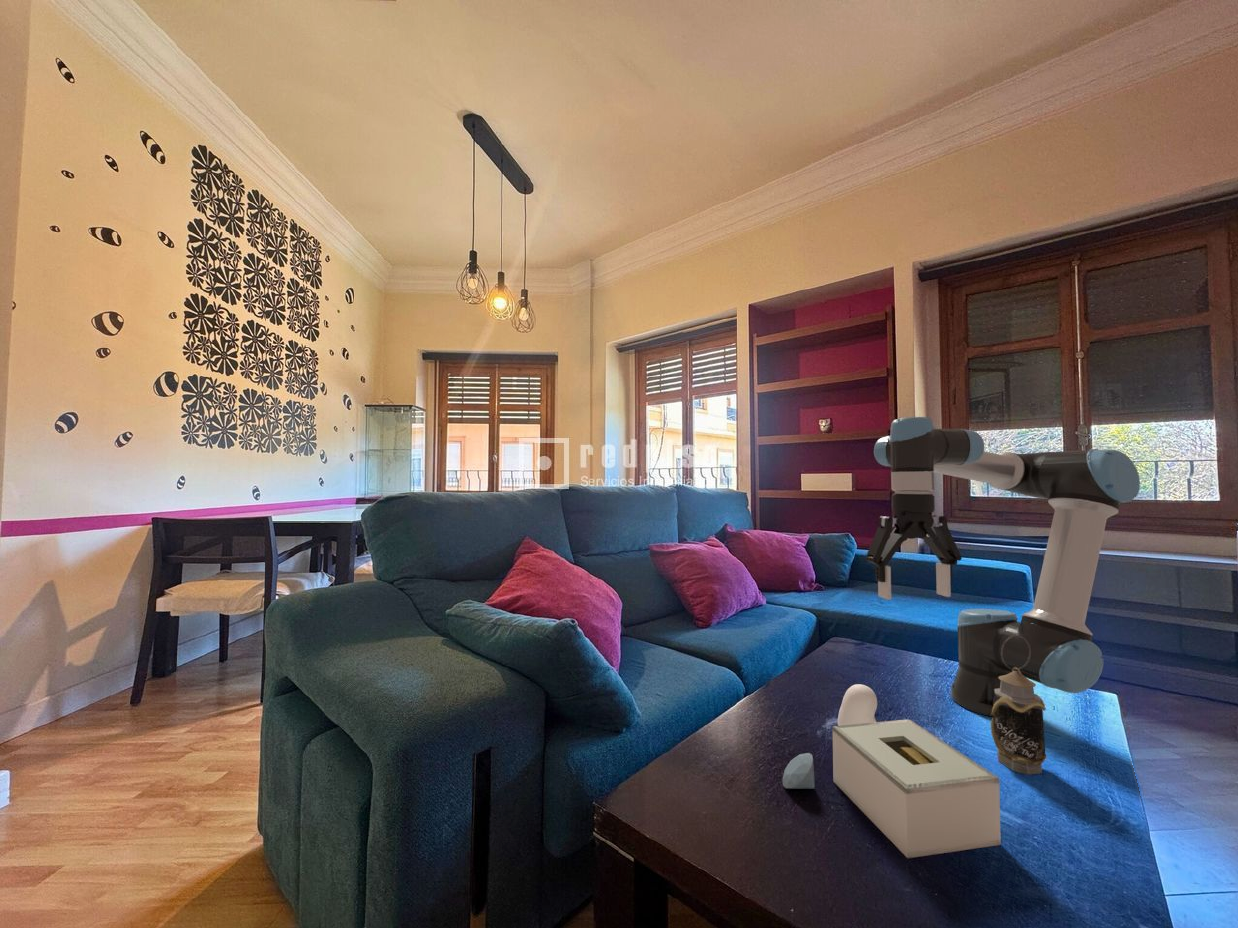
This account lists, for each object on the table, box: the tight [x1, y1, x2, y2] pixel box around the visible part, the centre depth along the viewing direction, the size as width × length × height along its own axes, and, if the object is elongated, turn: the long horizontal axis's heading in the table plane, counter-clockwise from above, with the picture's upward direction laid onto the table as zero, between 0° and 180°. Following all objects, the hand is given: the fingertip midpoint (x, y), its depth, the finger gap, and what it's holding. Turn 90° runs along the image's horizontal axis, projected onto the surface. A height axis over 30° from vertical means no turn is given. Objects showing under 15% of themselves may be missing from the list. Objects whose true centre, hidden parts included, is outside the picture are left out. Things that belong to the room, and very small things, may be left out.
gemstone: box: [782, 752, 816, 790], centre depth 86 cm, size 8×8×5 cm
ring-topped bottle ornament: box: [990, 635, 1048, 776], centre depth 93 cm, size 9×8×25 cm
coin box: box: [832, 718, 1002, 859], centre depth 80 cm, size 16×18×10 cm
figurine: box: [837, 683, 878, 726], centre depth 101 cm, size 7×8×12 cm
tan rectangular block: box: [899, 747, 933, 765], centre depth 80 cm, size 3×5×8 cm, turn 12°
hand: (914, 596), depth 97 cm, fingers open, 13 cm apart
